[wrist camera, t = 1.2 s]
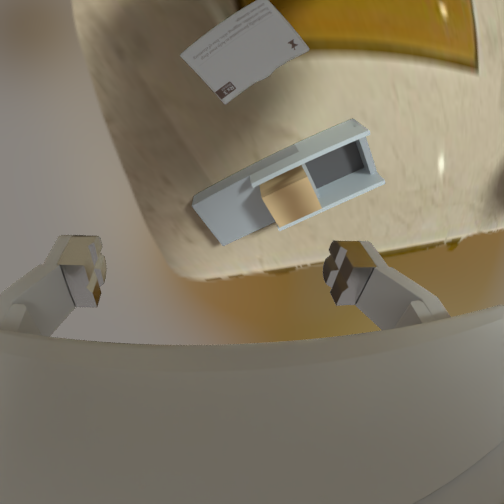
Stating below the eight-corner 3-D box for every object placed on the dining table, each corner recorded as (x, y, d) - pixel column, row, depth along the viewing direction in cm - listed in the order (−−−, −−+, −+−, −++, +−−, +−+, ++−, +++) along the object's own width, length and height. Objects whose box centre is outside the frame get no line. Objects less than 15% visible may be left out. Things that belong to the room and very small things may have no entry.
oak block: (300, 163, 36) (307, 176, 33) (314, 193, 39) (322, 208, 36) (258, 183, 37) (261, 198, 34) (275, 211, 40) (279, 227, 37)
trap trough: (352, 118, 35) (369, 130, 30) (369, 166, 39) (385, 183, 35) (194, 195, 41) (189, 216, 37) (223, 234, 46) (222, 257, 42)
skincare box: (253, 12, 25) (267, -12, 14) (283, 48, 28) (315, 48, 17) (197, 51, 28) (174, 52, 17) (228, 85, 31) (225, 107, 20)
